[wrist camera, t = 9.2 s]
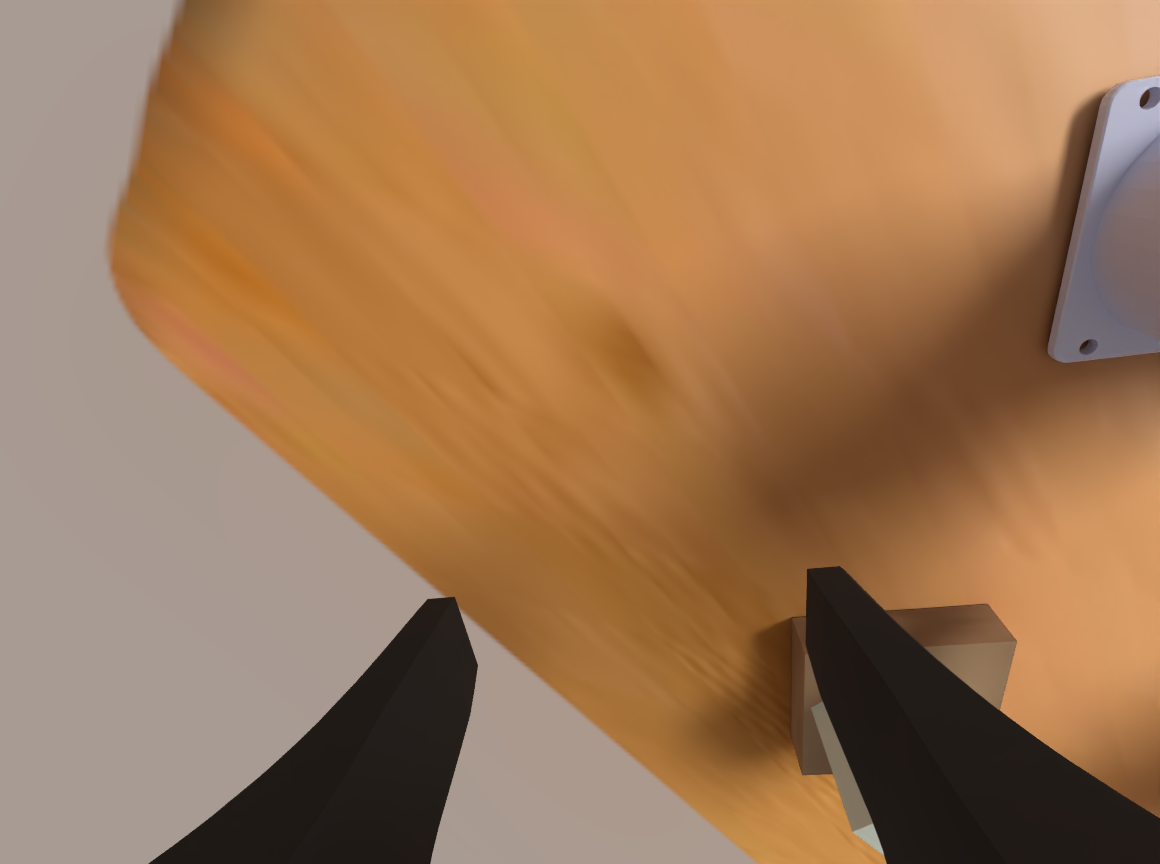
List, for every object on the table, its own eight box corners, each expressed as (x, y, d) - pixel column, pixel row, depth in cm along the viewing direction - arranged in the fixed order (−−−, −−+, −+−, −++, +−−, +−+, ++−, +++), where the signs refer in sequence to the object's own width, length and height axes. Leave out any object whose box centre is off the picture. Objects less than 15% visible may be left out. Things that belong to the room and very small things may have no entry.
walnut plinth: (987, 604, 24) (1017, 641, 22) (961, 728, 28) (985, 768, 26) (791, 617, 25) (805, 654, 23) (790, 735, 29) (802, 775, 27)
